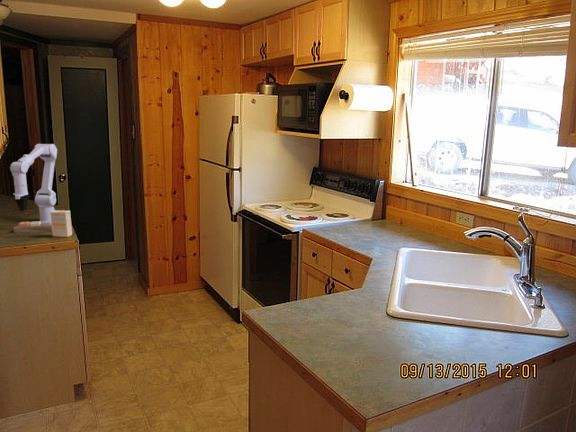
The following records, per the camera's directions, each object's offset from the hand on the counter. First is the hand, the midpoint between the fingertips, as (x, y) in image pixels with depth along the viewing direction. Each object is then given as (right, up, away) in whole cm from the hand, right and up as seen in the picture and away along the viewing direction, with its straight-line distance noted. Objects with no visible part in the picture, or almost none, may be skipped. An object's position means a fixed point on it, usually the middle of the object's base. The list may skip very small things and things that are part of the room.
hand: (23, 210), depth 259 cm
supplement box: (+25, -13, -10) cm, 30 cm away
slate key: (+11, -8, +4) cm, 14 cm away
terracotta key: (0, -8, +2) cm, 9 cm away
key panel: (+5, -10, +3) cm, 12 cm away
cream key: (+5, -8, +3) cm, 10 cm away
